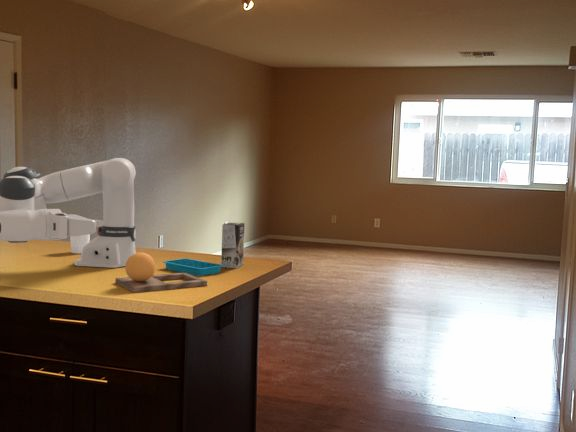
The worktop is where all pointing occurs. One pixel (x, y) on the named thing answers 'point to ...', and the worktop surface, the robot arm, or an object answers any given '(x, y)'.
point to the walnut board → (157, 284)
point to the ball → (140, 267)
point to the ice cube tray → (193, 266)
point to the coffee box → (232, 245)
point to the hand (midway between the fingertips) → (101, 222)
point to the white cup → (79, 243)
